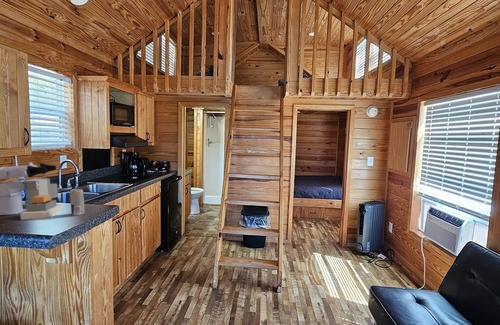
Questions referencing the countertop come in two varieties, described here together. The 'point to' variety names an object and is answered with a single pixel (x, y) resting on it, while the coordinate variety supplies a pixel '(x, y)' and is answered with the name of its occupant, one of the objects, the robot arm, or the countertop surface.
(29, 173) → the robot arm
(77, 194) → the energy drink
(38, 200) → the button
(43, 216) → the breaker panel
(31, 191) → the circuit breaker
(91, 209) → the countertop surface
